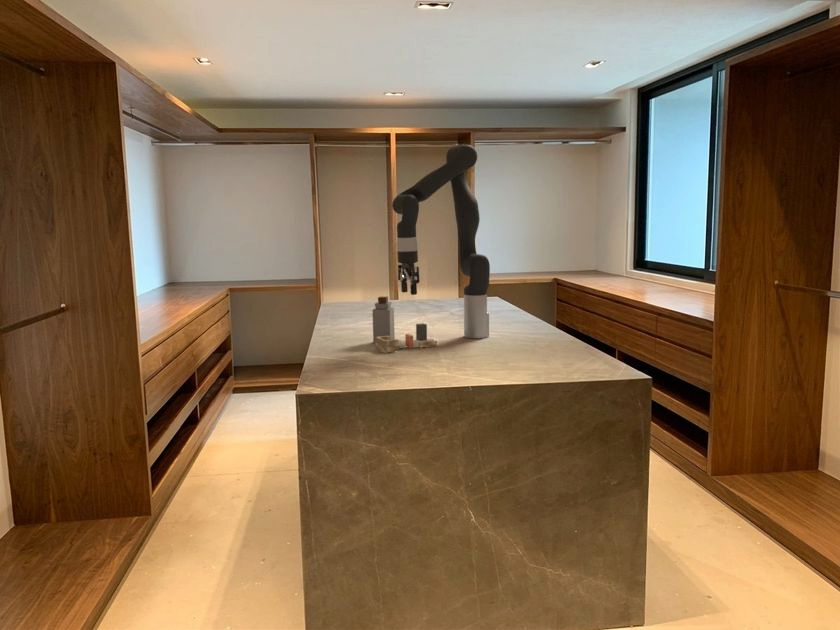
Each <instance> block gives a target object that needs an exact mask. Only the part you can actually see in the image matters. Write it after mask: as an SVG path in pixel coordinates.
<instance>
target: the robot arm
mask: <svg viewBox="0 0 840 630" xmlns="http://www.w3.org/2000/svg"><path fill="white" fill-rule="evenodd" d="M445 161H446V163H444V164H443V165H442V166H440V167H438V168H437V169H435V170H432V171H431V172H429V173H428V174H426V175H425V176H424V177H422V178H421V179H419V181H417V182H416V183H415V184H414V185H412V186H410V187H409V188H407V189H406V190H404V191H402V192H401V193H399V194H398V195H397V196H396V197H395V198H393V200H392V207H391V208H392V210H393V211H394V212H395V213H397V214H398V215H401V221H398V223H397V225H396V234H397V235H396V236H397V238H396V239H397V240H396V251H397V252H396V253H397V256H396V257H397V263H398V264H397V277H398V278H397V279H398V281H399V282H400V283H401V284H400V285H401V286H400V289H401V290H400V291H401V293H402V294H403V293H408V290H409V289H408V281H409V284H410V295H412V296H414V295H415V296H416V295H418V289H417V287H418V284H420V269H419V268H420V267H419V266H415V263H418V262H419V251H418V240H417V223H418V217H419V211H420V203H421V202H425V201H426V200H428V199H429V198H430V197H432V196H433V195H434V194H435V193H436V192H438V191H439V190H440V189H441V188H442V187H443V186H445V185H446V184H447V183H449V182H450V184H451V190H452V191H451V192H452V197H453V203H454V215H455V220H456V226H457V227H456V228H457V236H458V237H457V238H458V245H459V247H458V250H459V268H460V271H461V273H462V274H463V275H464V276H466V277H469V283H468V285H466V286H465V287H464V288H463V334H464V335H463V336H464V338H466V339H485V338H488V337H490V313H489V312H488V290H489V286H490V277H491V276H490V275H491V273H490V272H491V270H490V269H491V264H490V261H489V259H488V257H487V256H486V255H484V254H479V253H478V254H477V249H476V235H477V232H478V229H479V225H480V220H481V219H480V211H479V209H480V208H479V203H478V200H477V198H476V196H475V194H474V192H473V191H472V189H471V187H470V186H469V183H468V180H467V174H466V173H467V172H466V171H468V170H469V169H471V168H473V167H474V166H475V165H476V163H477V161H478V152H477V149H476V148H475V147H474V146H472V145H470V144H459V145H455V146H451V147H450V148H449V149H448V150H447V152H446V155H445Z"/></svg>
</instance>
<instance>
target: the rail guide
mask: <svg viewBox="0 0 840 630" xmlns="http://www.w3.org/2000/svg"><path fill="white" fill-rule="evenodd" d="M433 346H435V347H438V340H435V339H434V341H426V342H419V347H420V348H419V347H418V348H419V349H423V348H422V347H426V348H433Z"/></svg>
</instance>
